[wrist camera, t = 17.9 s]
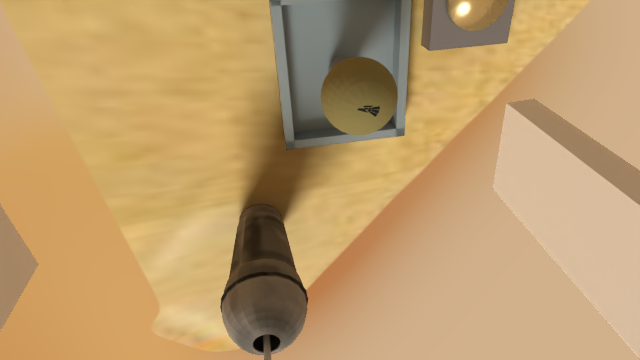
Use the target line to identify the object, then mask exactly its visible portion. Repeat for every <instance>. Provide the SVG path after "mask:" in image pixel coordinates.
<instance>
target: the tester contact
mask: <svg viewBox="0 0 640 360" xmlns="http://www.w3.org/2000/svg"><path fill="white" fill-rule="evenodd" d="M507 3H508V0H446V8H447V13H448V15H449V17H450V19H451V20H452V22H453V23H454V24H455V25H457V26H458V27H460V28H462V29H464V30H468V31H477V30H481V29H484V28H486V27H488V26H490V25H491V24H493V23H494V22H495V21H496V20H497V19H498V18H499V17H500V16H501V14H502V13H503V11H504V9H505V7H506V5H507Z"/></svg>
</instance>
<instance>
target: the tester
mask: <svg viewBox="0 0 640 360" xmlns="http://www.w3.org/2000/svg"><path fill="white" fill-rule="evenodd" d="M514 1H515V0H508V3H507V5H506V7H505V9H504V11H503V13H502V14H501V16H500V17H499V18H498V19H497V20H496V21H495V22H494V23H493V24H491V25H490V26H488V27H486V28H484V29H481V30H477V31H468V30H464V29H462V28H460V27H458V26H457V25H455V24H454V23H453V22H452V20H451V19H450V17H449V15H448V13H447V8H446V0H424V12H423V27H422V42H421V45H422V46H423V47H425V48H426V49H428V50H429V51H432V50H442V49H452V48H462V47H472V46H482V45H492V44H502V43H507V42H508V36H509V30H510V25H511V19H512V13H513V7H514Z"/></svg>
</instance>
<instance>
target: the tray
mask: <svg viewBox="0 0 640 360" xmlns="http://www.w3.org/2000/svg"><path fill="white" fill-rule="evenodd" d="M269 5H270V14H271V23H272V32H273V41H274V50H275V59H276V67H277V76H278V85H279V94H280V103H281V112H282V121H283V130H284V138H285V144H286V149H287V150H289V149H297V148H305V147H314V146H322V145H330V144H339V143H347V142H355V141H364V140H372V139H380V138H389V137H397V136H404V133H405V114H406V95H407V76H408V57H409V38H410V19H411V0H269ZM339 57H346V58H352V57H366V58H371V59H373V60H376V61H378V62H379V63H381V64H382V65H384V66H385V67H386V68H387V69H388V70H389V72H390V73H391V74H392V76H393V78H394V80H395V82H396V86H397V90H398V101H397V106H396V109H395V112H394V114H393V116H392V117H391V119H390V120H389V121H388V122H387V124H386V125H384V126H383V127H382V128H381V129H379V130H377V131H375V132H373V133H370V134H367V135H351V134H347V133H345V132H342V131H340V130H339V129H337V128H336V127H334V126H333V125H332V124H331V123H330V122H329V120H328V119H327V117H326V116H325V113H324V111H323V108H322V104H321V89H322V84H323V82H324V79H325V77H326V76H327V74H328V68H329V65H330V64H331V62H332V61H333V60H335V59H336V58H339Z"/></svg>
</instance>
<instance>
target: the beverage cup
mask: <svg viewBox="0 0 640 360" xmlns="http://www.w3.org/2000/svg"><path fill="white" fill-rule="evenodd" d="M307 303H308V298H307V293H306V290H305V288H304V287H303V284H302V282H301V279H300V277H299V275H298V274H297V272H296V268H295V265H294V261H293V257H292V253H291V250H290V246H289V242H288V238H287V235H286V231H285V227H284V223H283V222H282V219H281V215H280V213H279V212H278V211H277V210H276V209H275V208H273V207H271V206H268V205H261V204H259V205H254V206H251V207H249V208H247V209H246V210H245V211H244V212H243V213H242V215H241V216H240V220H239V225H238V227H237V233H236V239H235V245H234V251H233V257H232V264H231V270H230V276H229V279H228V281H227V284H226V287H225V290H224V294H223V296H222V298H221V307H220V308H221V312H222V318H223V322H224V325H225V327H226V330H227V332H228V334H229V336H230V338H231V339H232V340H233V341H234V342H235V343H236V344H237V345H238V346H239V347H240V348H241V349H243V350H245V351H247V352H249V353H252V354H257V355H264V360H271V354H274V353H277V352H280V351H282V350H284V349H285V348H287V347H288V346H289V345H290V344H291V343H293V342H294V341H295V339H296V338H297V336H298V335H299V334H300V332H301V330H302V328H303V325H304V322H305V318H306V313H307Z"/></svg>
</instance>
